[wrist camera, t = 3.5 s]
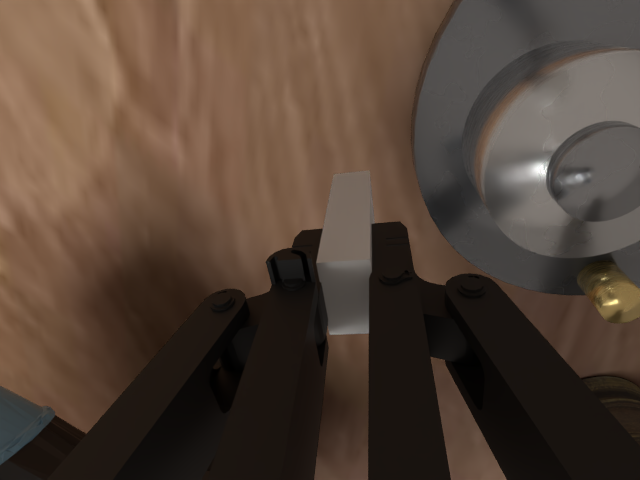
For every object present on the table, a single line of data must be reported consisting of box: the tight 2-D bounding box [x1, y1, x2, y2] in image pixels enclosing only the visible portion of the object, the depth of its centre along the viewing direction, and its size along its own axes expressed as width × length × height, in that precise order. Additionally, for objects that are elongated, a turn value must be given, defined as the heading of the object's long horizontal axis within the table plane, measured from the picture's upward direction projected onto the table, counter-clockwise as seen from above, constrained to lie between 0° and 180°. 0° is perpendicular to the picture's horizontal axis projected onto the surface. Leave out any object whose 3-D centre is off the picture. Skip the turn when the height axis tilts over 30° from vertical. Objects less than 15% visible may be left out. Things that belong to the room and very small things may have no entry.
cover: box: [461, 40, 640, 258], centre depth 19 cm, size 9×9×6 cm
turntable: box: [411, 0, 640, 323], centre depth 20 cm, size 22×22×5 cm
